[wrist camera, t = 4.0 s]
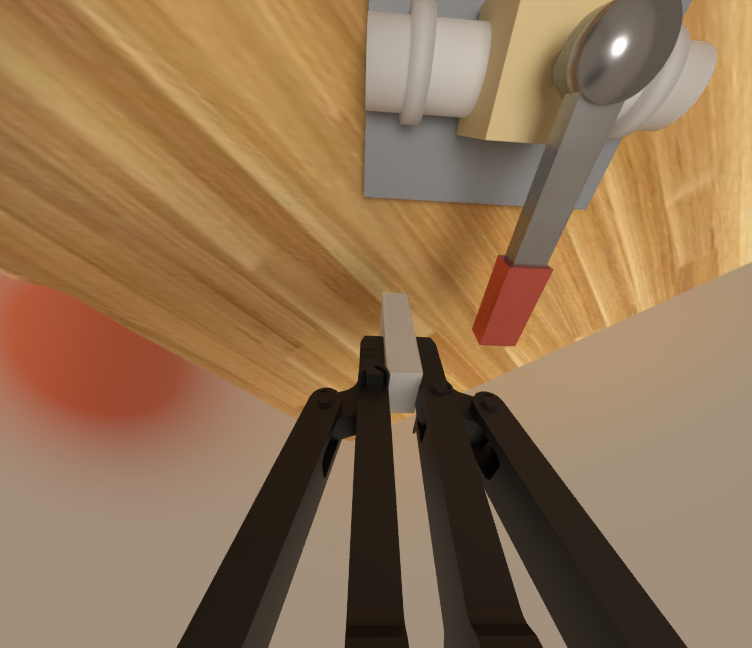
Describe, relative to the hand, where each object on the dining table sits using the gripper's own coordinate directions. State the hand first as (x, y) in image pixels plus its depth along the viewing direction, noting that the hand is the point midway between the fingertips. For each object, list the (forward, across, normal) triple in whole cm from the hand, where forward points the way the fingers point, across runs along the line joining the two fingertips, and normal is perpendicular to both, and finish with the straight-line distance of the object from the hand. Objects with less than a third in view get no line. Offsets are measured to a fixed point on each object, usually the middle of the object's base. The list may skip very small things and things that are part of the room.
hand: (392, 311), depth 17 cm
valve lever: (+2, +8, +6) cm, 10 cm away
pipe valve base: (+13, +8, +12) cm, 20 cm away
